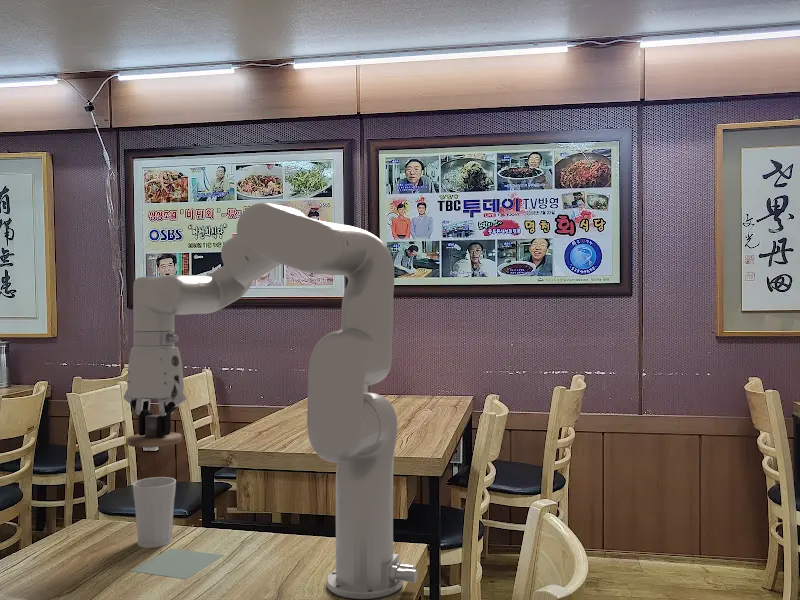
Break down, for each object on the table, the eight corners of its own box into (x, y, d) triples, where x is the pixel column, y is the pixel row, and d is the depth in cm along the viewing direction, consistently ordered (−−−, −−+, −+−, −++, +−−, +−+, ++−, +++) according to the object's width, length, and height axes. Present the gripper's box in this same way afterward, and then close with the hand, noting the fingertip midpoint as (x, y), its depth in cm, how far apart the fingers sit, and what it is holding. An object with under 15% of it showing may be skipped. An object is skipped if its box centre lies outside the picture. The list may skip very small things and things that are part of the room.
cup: (162, 552, 132) (162, 488, 132) (124, 549, 134) (124, 486, 134) (184, 538, 140) (183, 478, 140) (147, 535, 142) (147, 476, 142)
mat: (223, 557, 130) (223, 555, 130) (186, 581, 119) (186, 578, 119) (170, 550, 133) (170, 548, 133) (129, 573, 122) (129, 570, 122)
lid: (191, 438, 140) (191, 413, 140) (160, 448, 130) (160, 421, 130) (149, 435, 143) (149, 411, 143) (115, 445, 133) (115, 419, 133)
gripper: (202, 339, 138) (202, 433, 138) (131, 338, 143) (132, 429, 143) (178, 342, 131) (179, 441, 131) (105, 340, 136) (105, 436, 136)
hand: (154, 434), depth 137 cm, fingers closed on lid, 3 cm apart
